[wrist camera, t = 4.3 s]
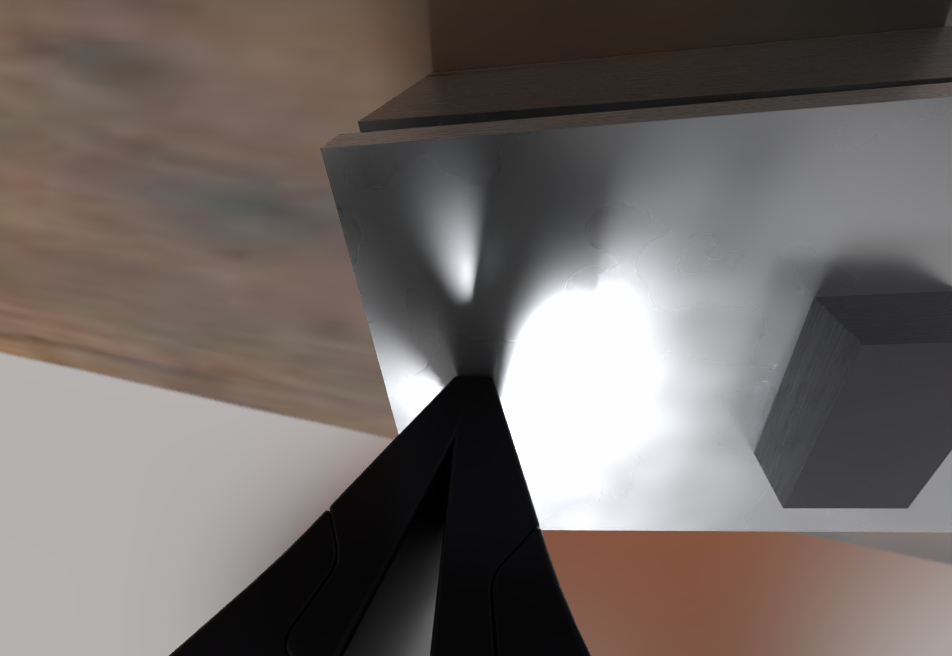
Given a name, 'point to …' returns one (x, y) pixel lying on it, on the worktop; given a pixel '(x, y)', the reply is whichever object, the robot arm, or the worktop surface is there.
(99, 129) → the worktop surface
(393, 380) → the grey flat panel
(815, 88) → the open storage bin
